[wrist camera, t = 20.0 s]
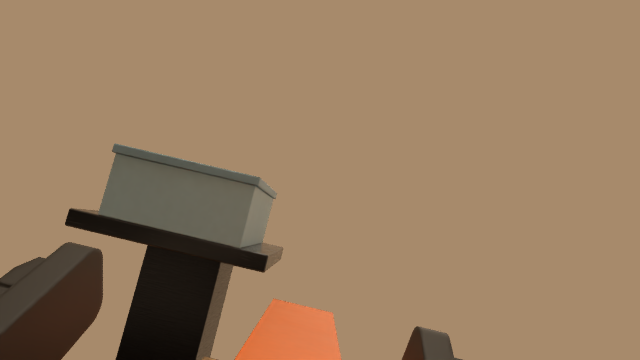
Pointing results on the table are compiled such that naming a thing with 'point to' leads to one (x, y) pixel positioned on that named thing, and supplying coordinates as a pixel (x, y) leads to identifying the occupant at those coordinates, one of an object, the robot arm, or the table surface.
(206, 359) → the box
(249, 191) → the storage tub
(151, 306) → the shelf stand
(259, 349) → the orange rectangular bar
